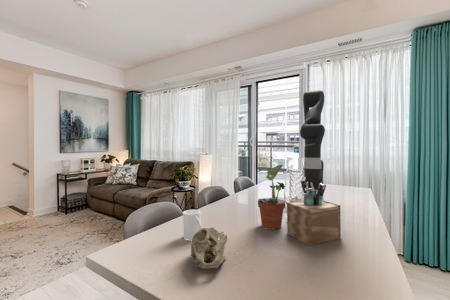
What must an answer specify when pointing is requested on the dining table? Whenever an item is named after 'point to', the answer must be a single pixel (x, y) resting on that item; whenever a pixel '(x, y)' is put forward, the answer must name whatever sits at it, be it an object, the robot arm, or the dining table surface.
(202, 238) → the skull
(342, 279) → the dining table surface
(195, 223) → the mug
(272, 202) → the potted plant
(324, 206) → the lid
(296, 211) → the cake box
